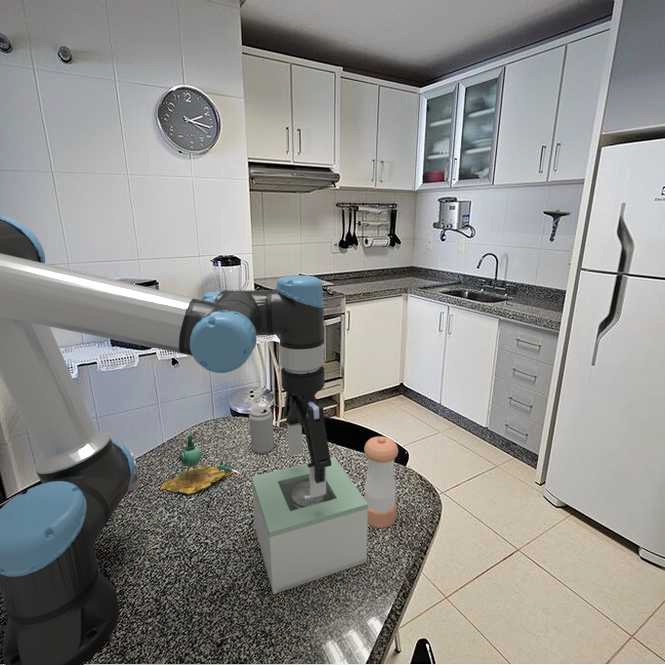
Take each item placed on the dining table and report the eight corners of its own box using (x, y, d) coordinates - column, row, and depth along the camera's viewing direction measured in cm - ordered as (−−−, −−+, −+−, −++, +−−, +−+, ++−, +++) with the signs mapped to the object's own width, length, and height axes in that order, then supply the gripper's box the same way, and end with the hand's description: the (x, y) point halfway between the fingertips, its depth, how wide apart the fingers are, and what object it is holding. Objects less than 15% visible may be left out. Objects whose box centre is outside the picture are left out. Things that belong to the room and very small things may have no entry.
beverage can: (269, 456, 109) (267, 416, 106) (247, 453, 111) (244, 414, 107) (277, 443, 115) (275, 406, 112) (256, 441, 117) (254, 404, 113)
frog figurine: (235, 491, 96) (222, 437, 91) (157, 507, 93) (141, 453, 89) (237, 467, 105) (226, 417, 100) (166, 481, 102) (151, 431, 98)
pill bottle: (120, 482, 99) (115, 452, 97) (141, 478, 100) (136, 449, 98) (116, 494, 95) (110, 463, 92) (137, 490, 96) (132, 460, 94)
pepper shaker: (367, 530, 83) (368, 449, 78) (359, 506, 90) (360, 430, 85) (400, 525, 84) (404, 445, 79) (390, 502, 91) (393, 427, 86)
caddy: (273, 594, 69) (269, 532, 65) (255, 530, 83) (251, 476, 80) (366, 562, 75) (367, 504, 72) (335, 507, 90) (334, 456, 86)
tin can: (297, 558, 75) (296, 509, 71) (289, 532, 81) (287, 485, 76) (327, 549, 77) (328, 500, 73) (317, 524, 83) (318, 478, 78)
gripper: (352, 390, 59) (351, 510, 65) (301, 343, 81) (304, 436, 87) (303, 398, 56) (307, 523, 62) (265, 348, 79) (271, 443, 85)
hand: (305, 472), depth 75 cm, fingers open, 13 cm apart
